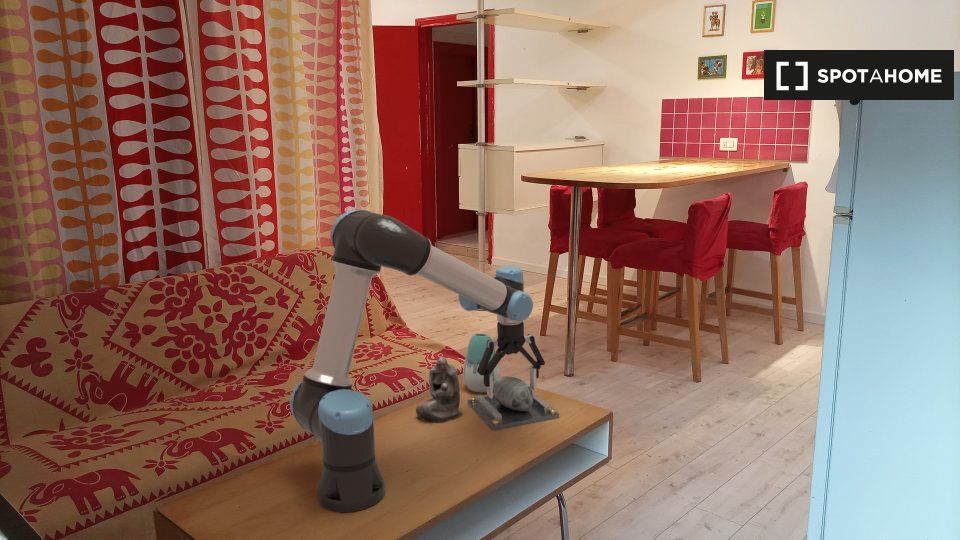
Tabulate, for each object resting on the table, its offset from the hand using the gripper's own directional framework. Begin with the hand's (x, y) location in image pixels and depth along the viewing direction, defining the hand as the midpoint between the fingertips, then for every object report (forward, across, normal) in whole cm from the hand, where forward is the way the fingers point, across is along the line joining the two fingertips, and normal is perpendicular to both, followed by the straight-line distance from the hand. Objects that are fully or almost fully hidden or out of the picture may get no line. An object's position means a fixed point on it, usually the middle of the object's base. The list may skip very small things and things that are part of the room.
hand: (511, 392), depth 207 cm
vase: (+6, -2, +19) cm, 20 cm away
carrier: (+5, 0, 0) cm, 5 cm away
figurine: (+6, -20, +5) cm, 21 cm away
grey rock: (+4, 0, 0) cm, 4 cm away
